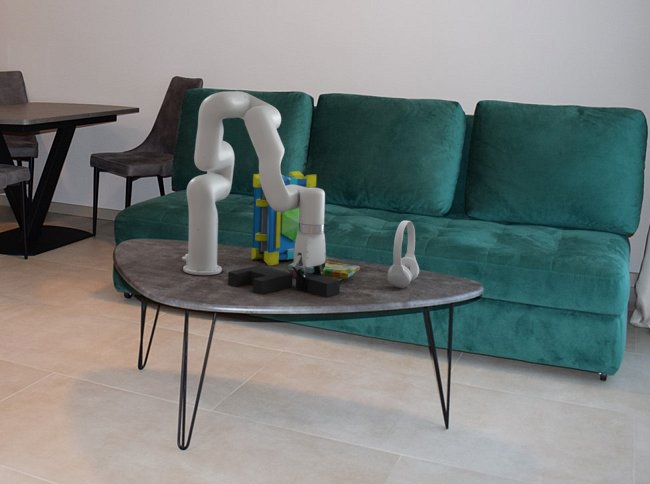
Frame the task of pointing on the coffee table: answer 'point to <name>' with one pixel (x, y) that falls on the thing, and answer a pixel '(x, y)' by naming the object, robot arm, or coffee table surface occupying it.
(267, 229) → the blue tall framed box
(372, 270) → the coffee table surface
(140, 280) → the coffee table surface
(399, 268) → the headphones
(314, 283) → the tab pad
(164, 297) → the coffee table surface
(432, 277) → the coffee table surface
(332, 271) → the puzzle game
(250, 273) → the notch pad
